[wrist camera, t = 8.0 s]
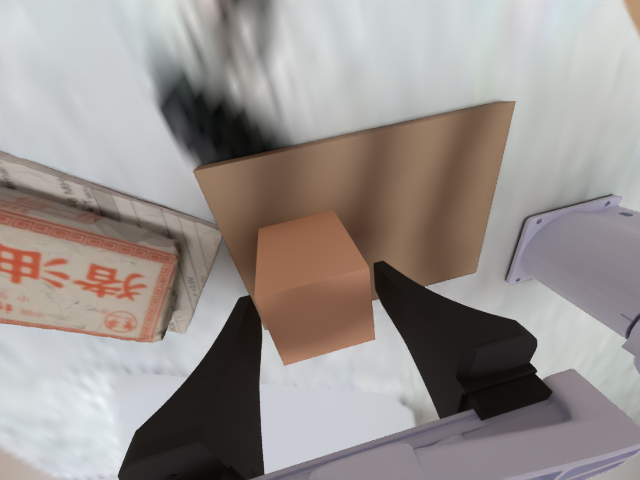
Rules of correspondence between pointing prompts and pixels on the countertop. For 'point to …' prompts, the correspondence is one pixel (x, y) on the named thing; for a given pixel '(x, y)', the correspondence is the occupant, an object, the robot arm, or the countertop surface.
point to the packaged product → (96, 257)
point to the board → (373, 192)
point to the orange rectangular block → (312, 287)
